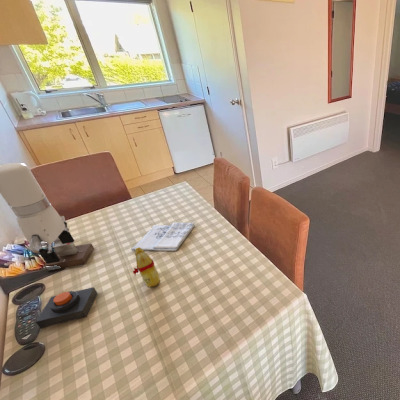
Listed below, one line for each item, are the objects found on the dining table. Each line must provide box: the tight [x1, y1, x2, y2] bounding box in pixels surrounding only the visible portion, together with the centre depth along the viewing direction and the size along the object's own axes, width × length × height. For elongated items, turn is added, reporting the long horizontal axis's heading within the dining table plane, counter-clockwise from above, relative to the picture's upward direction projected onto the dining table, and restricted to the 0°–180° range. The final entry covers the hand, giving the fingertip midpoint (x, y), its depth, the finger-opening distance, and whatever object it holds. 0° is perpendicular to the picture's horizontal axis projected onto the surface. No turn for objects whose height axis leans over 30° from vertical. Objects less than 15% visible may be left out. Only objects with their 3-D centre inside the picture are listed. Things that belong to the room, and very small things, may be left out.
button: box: [53, 291, 72, 306], centre depth 85 cm, size 4×4×2 cm
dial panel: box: [44, 242, 95, 272], centre depth 108 cm, size 12×10×3 cm
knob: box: [53, 242, 78, 257], centre depth 106 cm, size 6×2×5 cm, turn 109°
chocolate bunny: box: [132, 247, 161, 288], centre depth 95 cm, size 7×11×15 cm, turn 41°
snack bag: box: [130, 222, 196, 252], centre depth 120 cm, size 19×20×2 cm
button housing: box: [35, 286, 99, 329], centre depth 86 cm, size 12×10×5 cm
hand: (61, 251), depth 84 cm, fingers open, 9 cm apart
